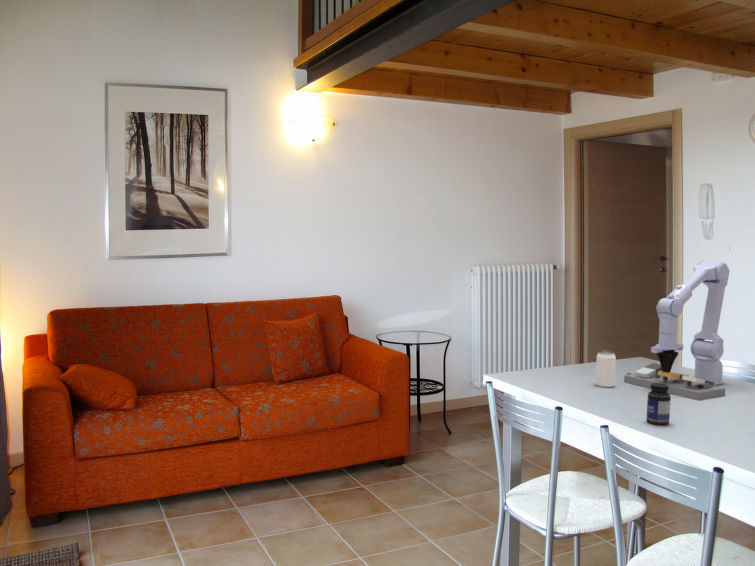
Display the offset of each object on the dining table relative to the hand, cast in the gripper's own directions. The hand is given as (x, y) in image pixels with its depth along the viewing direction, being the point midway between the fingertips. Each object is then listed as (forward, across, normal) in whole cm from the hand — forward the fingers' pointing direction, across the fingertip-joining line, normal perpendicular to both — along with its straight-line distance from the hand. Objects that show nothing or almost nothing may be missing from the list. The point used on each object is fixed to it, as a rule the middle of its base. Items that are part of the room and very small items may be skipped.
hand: (666, 372), depth 238 cm
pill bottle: (+6, +37, +26) cm, 46 cm away
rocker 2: (+2, -4, 0) cm, 5 cm away
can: (+6, +14, -14) cm, 21 cm away
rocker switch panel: (+6, -4, -2) cm, 8 cm away
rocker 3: (+2, -4, +10) cm, 11 cm away
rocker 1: (+2, -4, -10) cm, 11 cm away
